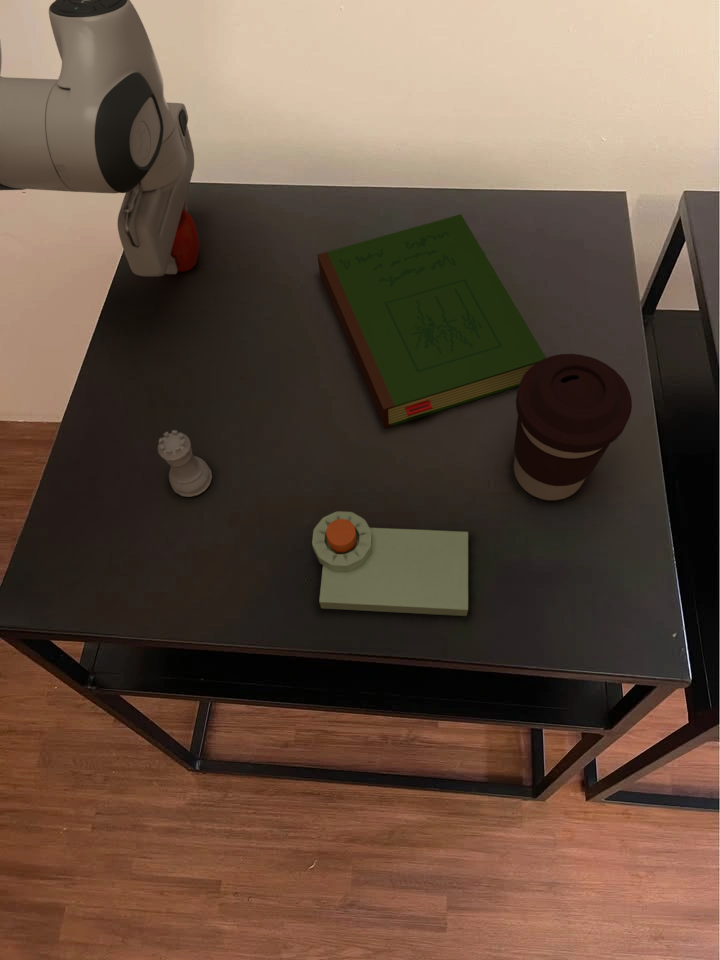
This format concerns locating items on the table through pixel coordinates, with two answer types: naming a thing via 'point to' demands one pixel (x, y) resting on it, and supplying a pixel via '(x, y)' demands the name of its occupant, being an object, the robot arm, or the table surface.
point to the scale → (394, 569)
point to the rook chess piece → (184, 465)
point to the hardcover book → (427, 319)
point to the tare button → (341, 535)
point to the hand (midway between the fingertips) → (177, 248)
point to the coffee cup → (566, 422)
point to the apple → (186, 243)
